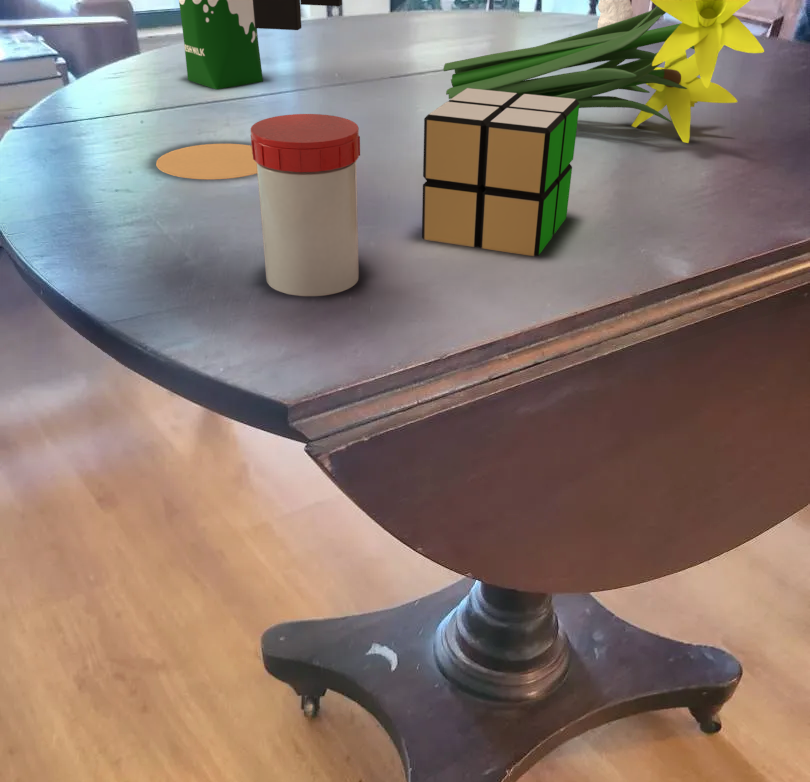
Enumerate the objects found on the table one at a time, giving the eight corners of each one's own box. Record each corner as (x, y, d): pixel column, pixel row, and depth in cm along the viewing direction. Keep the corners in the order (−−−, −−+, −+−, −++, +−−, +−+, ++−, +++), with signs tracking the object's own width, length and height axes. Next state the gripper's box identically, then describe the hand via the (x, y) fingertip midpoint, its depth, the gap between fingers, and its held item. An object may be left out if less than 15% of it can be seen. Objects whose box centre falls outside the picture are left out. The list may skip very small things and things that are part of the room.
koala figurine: (586, 40, 147) (596, -50, 140) (629, 42, 146) (642, -48, 138) (582, 50, 140) (592, -43, 133) (627, 53, 139) (641, -41, 132)
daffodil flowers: (483, 106, 117) (785, 44, 102) (467, 200, 112) (782, 149, 97) (434, -12, 103) (776, -104, 88) (413, 89, 98) (772, 9, 83)
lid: (237, 167, 63) (234, 138, 62) (273, 138, 69) (271, 110, 68) (343, 176, 62) (342, 146, 61) (370, 145, 68) (370, 117, 67)
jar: (253, 295, 69) (239, 145, 63) (283, 260, 75) (273, 118, 68) (345, 305, 68) (340, 153, 62) (368, 268, 73) (366, 125, 67)
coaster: (136, 177, 91) (135, 173, 90) (185, 143, 100) (184, 139, 100) (253, 187, 89) (253, 183, 88) (292, 152, 98) (292, 148, 98)
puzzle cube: (459, 205, 85) (464, 86, 79) (566, 220, 82) (581, 98, 76) (420, 243, 78) (422, 114, 72) (537, 261, 75) (550, 129, 69)
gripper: (274, -578, 38) (307, 50, 51) (394, -460, 54) (395, -7, 68) (101, -566, 39) (180, 44, 53) (270, -454, 55) (296, -11, 69)
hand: (301, 15), depth 60 cm, fingers open, 8 cm apart
